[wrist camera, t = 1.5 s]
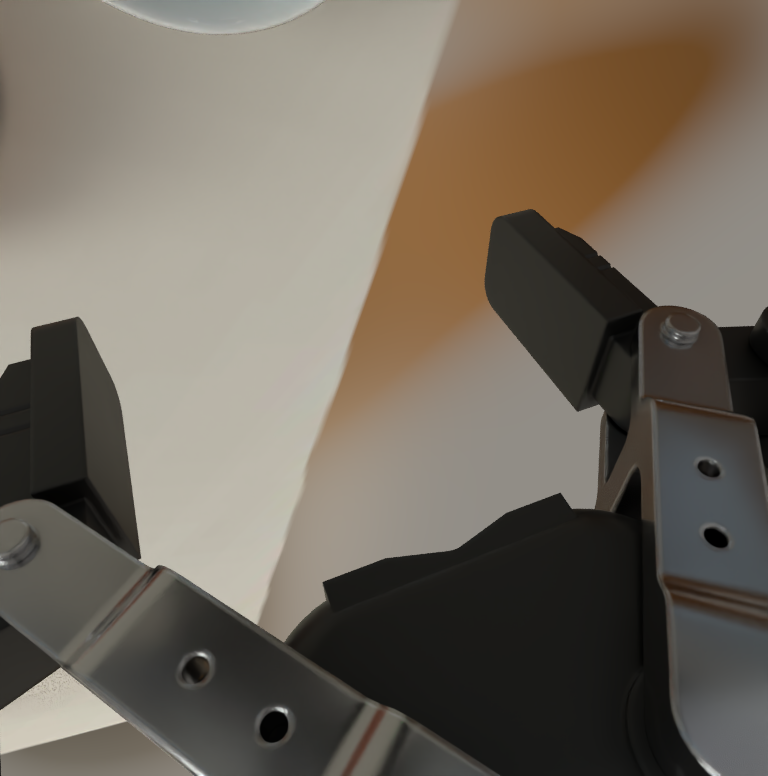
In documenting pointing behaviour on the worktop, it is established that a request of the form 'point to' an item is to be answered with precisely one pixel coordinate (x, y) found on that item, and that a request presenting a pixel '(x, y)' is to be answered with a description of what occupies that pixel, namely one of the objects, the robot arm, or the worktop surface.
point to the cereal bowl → (216, 14)
